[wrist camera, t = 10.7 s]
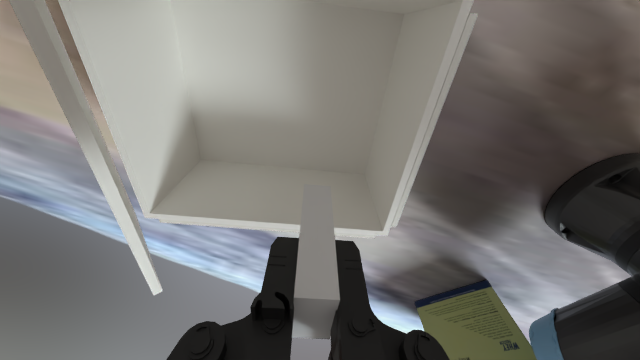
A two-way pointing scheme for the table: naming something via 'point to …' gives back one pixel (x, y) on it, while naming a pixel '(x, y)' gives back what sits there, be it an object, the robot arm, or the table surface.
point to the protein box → (473, 325)
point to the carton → (271, 102)
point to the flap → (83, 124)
